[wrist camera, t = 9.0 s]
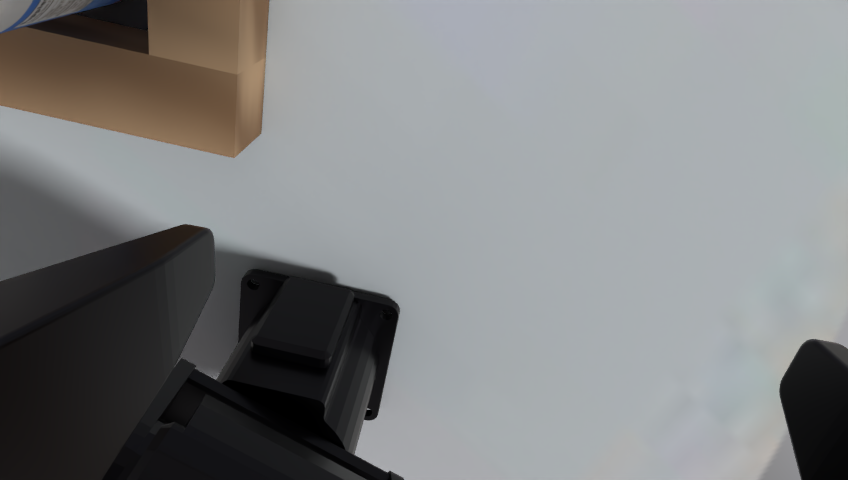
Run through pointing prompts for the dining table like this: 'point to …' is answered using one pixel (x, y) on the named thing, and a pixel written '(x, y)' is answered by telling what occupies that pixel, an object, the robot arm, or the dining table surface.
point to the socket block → (147, 72)
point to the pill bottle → (41, 11)
